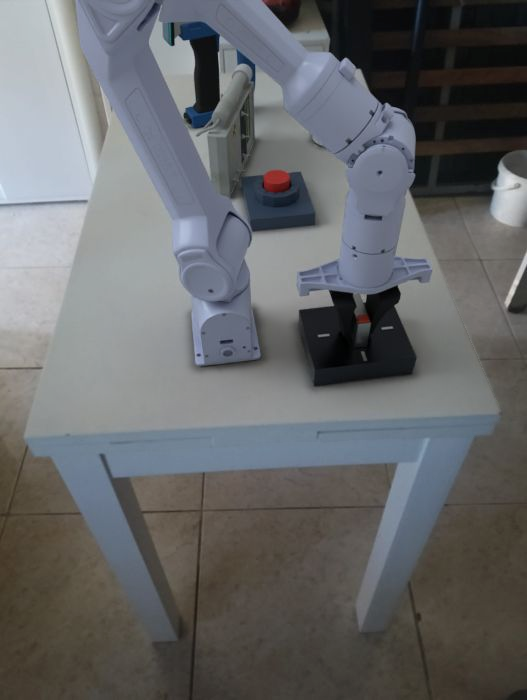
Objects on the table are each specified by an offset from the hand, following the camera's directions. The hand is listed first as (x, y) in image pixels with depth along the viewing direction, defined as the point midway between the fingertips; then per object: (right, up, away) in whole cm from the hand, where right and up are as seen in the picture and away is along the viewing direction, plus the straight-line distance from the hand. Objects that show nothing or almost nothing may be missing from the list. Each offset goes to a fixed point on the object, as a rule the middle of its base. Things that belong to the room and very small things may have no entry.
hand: (355, 329), depth 68 cm
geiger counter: (-16, +31, +33) cm, 49 cm away
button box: (-9, +21, +23) cm, 33 cm away
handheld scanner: (-20, +43, +44) cm, 65 cm away
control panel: (0, -2, +3) cm, 3 cm away
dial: (0, 0, 0) cm, 0 cm away
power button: (-9, +23, +21) cm, 32 cm away
